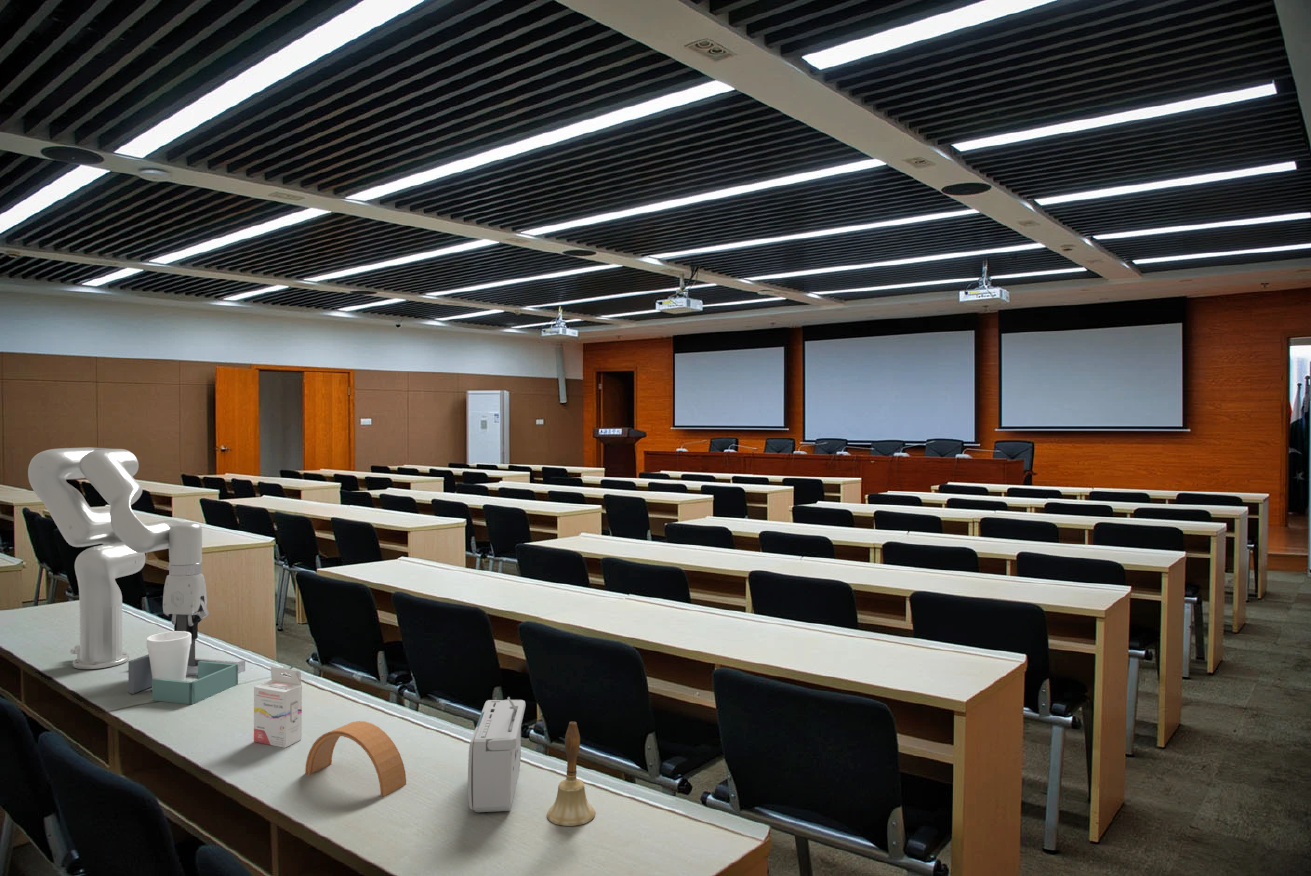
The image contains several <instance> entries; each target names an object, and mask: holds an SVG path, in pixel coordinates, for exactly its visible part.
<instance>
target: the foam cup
mask: <svg viewBox="0 0 1311 876" xmlns="http://www.w3.org/2000/svg"><path fill="white" fill-rule="evenodd" d="M190 645H191V633H190V632H186V631H174V630H171V631H166V632H165V631H163V632H160V633H156V634H151V635H149V636H148V637H146V649H147V650H148V654H149V659H150V666H151V672H152V679H154V678H158V679H168V680H178V681H186V677H187V675H186V672H187V665H188V658H189V651H190Z"/></svg>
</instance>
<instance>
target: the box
mask: <svg viewBox="0 0 1311 876" xmlns="http://www.w3.org/2000/svg"><path fill="white" fill-rule="evenodd" d="M237 685H239V673H238V664H228V663H217V662H206V661H199V662H198V676H197V679H195V680H192V681H186V680H185V681H178V680H168V679H158V678H154V679H152V687H151V688H152V689H151V691H152V692H151V693H152V695H151V700H152V701H156V702H164V703H165V702H166V703H176V704H183V705H194V704H197V703H198V702H201V701H203V700H205V699H209V698H210V697H213V696H214V695H217V694H219V693H221V692H224V691H226V690H228V689H230V688H232V687H235V686H237Z"/></svg>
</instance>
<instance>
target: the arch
mask: <svg viewBox="0 0 1311 876" xmlns="http://www.w3.org/2000/svg"><path fill="white" fill-rule="evenodd" d="M340 737H344V738H348V739H350V740H351V741H353V742H355V743H356V744H357V745H359V746H360V747H361V749H363V751H364V752H365V753H366V754H367V756H368V758H370V761H371V763H372V765H373V766H374V769H375V771H376V774H377V778H378V783H379V789H380V790H379V791H380V796H382V797H385V796H387V795H390V794H391V793H393V792H394V791H396V790H398V789H400V788H401V787H404V786H406V785H407V776H406V769H405V765H404V761H403V759H402V757H401V754H400V752H399V750H398V747H397V746H396V744H395V743H394V741H393V740H392V739H391V737H390V736H389V735H388V734H387V733H386V732H385V731H384V730H382V728H380V727H379V726H377V725H375V724H374V723H371V722H368V721H363V720H362V721H361V720H357V721H352V722H349V723H346V724H345V725H342V726H340V727H338V728H335V729H333V730H332V729H331V730H330V731H328V732H325V733H324V734H322V735H320V736H319V737H317V739H316V740H315V741H314V743H313V744H312V745H311V747H310V749H309V751H308V754H307V757H306V762H305V768H304V769H305V770H304V771H305V773H304V774H305V775H306V774H307V775H311V774H313V773H316V772H318V771H320V770H322V769H324V768H326V767H329V766H330V765H332V761H333V754H334V750H335V749H334V748H335V746H336V744H337V742H338V741H339V739H340Z"/></svg>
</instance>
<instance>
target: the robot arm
mask: <svg viewBox="0 0 1311 876" xmlns="http://www.w3.org/2000/svg"><path fill="white" fill-rule="evenodd" d="M139 465H140V464H139V460H138V459H137V456H136V455H135V454H134V453H133V452H131V451H130V450H127V449H124V448H108V447H107V448H106V447H87V446H86V447H71V448H70V447H63V448H60V447H59V448H51V449H47V450H43V451H41V452H39V453H37V454H35V455H34V456H33V457H32V458H31V460H30V463H29V464H28V469H27V478H28V483H29V484H30V487H31V488H32V490H33V491H34V493H35V495H36V496H37V497H38V498H39V500H40V501H41V502H42V503H43V505H44V506H45V508H46V509H47V511H48V513H49V514H50V516H51V518H52V519H53V520H52V521H54V524H55V525H56V526H57V529H58V531H59V532H60V534H61V535H62V537H63V539H64V540H65V541H66V543H68V545H69V546H72V547H73V548H74V547H75V548H85V547H89V548H86V549H85V550H83V551H81V552H80V553H79V554H78V555H77V556H76V558H75V561H74V571H75V576H76V580H77V586H78V597H79V598H78V599H79V644H76V645H75V646H74V647H73V648H71V649H70V654H72V655H76V659H74V660H73V661H72V667H73V668H75V669H78V670H96V669H97V670H99V669H103V668H110V667H114V666H119V665H121V664H125V663H126V662H127V661H130V654H128V653H127V652H124V651H123V595H122V591H121V589H120V587H119V585H118V584H117V581H116V579H118V578H122V577H123V578H124V577H126V576H130V575H133V574H136V573H138V572H140V571H141V570H142V569H143V568H144V566H145V565H146V554H148V553H151V552H156V551H163V550H167V549H168V557H169V558H168V561H169V563H168V565H167V567H166V568H167V570H169V571H168V572H169V573H168V575H166V577H165V581H164V587H163V596H162V610H163V611H162V612H163V614H164V615H165V616H167V617H168V618H169V619H170V620H171V624H172V625H173V626H174V627H173V631H177V614H178V615H188V624H189V626H187V627H186V632H190V633H191V641H192V640H195V641H196V640H197V639H198V638H199V637H198V636H199V631H198V628H199V627H198V625H199V624H201V621H202V620H203V619H204V618H206V617H208V616H209V615H210V613H209V610H208V608H207V607H208V606H207V605H208V597H207V596H208V595H207V594H208V593H207V585H206V579H205V575H204V574H203V529H202V525H201V524H200V523H198V522H191V521H190V522H188V521H187V522H184V521H183V522H181V521H177V520H171V519H168V520H167V519H166V520H165V519H164V520H160V521H153V522H152V521H151V522H147V523H145V522H144V523H143V522H142V521H141V520H140V519H139V518H138V516H137V514H135V512H134V511H133V510H132V505H133V504H135V503H136V502H137V501H138V500H139V499H140V498H141V496H142V494H143V488H142V485H141V484H140V483H139V481H137V480H136V479H135V478H134V476H135V475H136V474H137V473H138V471H139V467H140V466H139ZM76 479H78V480H79V479H86V480H87V481H88V482H89V483H90V484H91V486H93V487H94V489H95V491H97V492H98V493H99V495H100V496H101V497H102V498H103V499H104V500H105V502H107V504H108V505H109V507H110V508H99V509H93V508H92V507H91V506H90V504H89V503H88V502H87V501H86V499H85V497H84V495H83V494H82V493H81V492H80V491H79V489H77V488H75V487H74V486H73V485H72V484H70V483H68V482H67V480H76ZM90 546H91V547H90ZM193 616H194V619H193Z"/></svg>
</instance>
